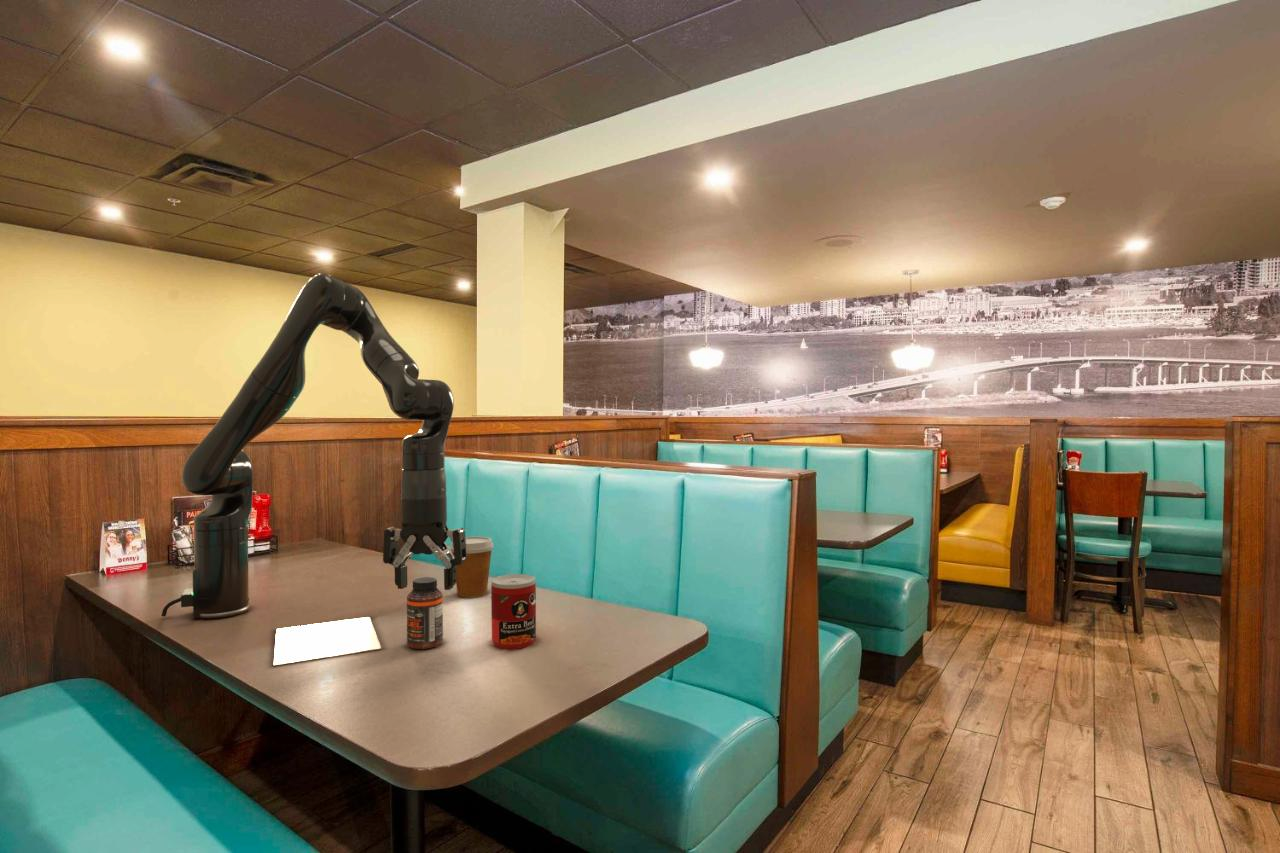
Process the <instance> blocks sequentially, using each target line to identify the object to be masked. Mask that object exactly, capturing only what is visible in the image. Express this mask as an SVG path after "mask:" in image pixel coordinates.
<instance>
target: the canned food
mask: <svg viewBox="0 0 1280 853" xmlns="http://www.w3.org/2000/svg"><path fill="white" fill-rule="evenodd" d="M536 587H537V582H536V577H535V576H533V575H530V574H526V573H525V574H524V573H511V574H502V575H499V576H495V577H494V578H492V579H491V584H490V598H491V599H490V600H491V601H490V602H491V608H490V609H491V610H490V611H491V615H490V616H491V641H492V644H493V645H494V646H495V647H496V648H499V649H502V650H503V649H505V650H516V649H522V648H526V647H529V646H532V644H533V643H535V641H536V637H537V588H536Z"/></svg>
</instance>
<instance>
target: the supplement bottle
mask: <svg viewBox="0 0 1280 853" xmlns="http://www.w3.org/2000/svg"><path fill="white" fill-rule="evenodd" d="M443 599H444V598H443V592H442V591H441V590H440V589H439V588H438V579H437V578H436V577H434V576H433V577H432V576H423V577H422V576H421V577H417V578H414V579H413V580H412V589H411V591H410V592H409V593H408V594H407V596H406V644H407V646H408V647H409V648H410V649H411V648H412V649H414V650H427V649H431V648H435V647H437V646H440V645H441V644H442V643H443V639H444V638H443V637H444V600H443Z"/></svg>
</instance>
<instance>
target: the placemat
mask: <svg viewBox="0 0 1280 853" xmlns="http://www.w3.org/2000/svg"><path fill="white" fill-rule="evenodd" d="M274 643H275V644H274V655H273V656H274V657H273V667H277V666H284V665H289V664H290V665H291V664H296V663H303V662H308V661H309V662H310V661H317V660H321V659H322V660H323V659H330V658H335V657H341V656H349V655H354V654H362V653H366V652H374V651H379V650H382V646H381V644H380V641H379V638H378V636H377V634H376V631H375V628H374V625H373V622H372V620H371V617H370V616H366V617H359V618H357V617H356V618H351V619H343V620H335V621H328V622H322V623H320V622H319V623H313V624H307V625H306V624H305V625H301V626H300V625H297V626H291V627H290V626H289V627H283V628H277V629H276V633H275V642H274Z"/></svg>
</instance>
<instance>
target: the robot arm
mask: <svg viewBox="0 0 1280 853" xmlns="http://www.w3.org/2000/svg"><path fill="white" fill-rule="evenodd" d="M320 325H322V326H324V327H327V328H329V329H332V330H336V331H341V332H343V333H345V334H347V335H348V336H350V337H351V338H352V339H353V340H355V341H356V342H357V343H358V344H359V346H360V347H359V348H360V349H359V350H360V352H359V353H360V357H361V359H362V363H363V364H364V365H365V367H366V369H367V370H368V372H370V374H371V375H372V376H373V377H374V378H375V379H376V380H377V381H378V383H380V385H381V387H382V390H383V392H384V395H385V398H386V400H387V403H388V406H389V408H390V410H391V411H392V413H393V414H394V415H395V416H397V417H399V418H400V419H402V420H405V421H422V423H421V426H420V429H419V430H418V432H416V433H413V434H410V435H409V434H408V435H407V436H405V437H404V438H403V439H402V442H401V476H400V477H401V479H400V490H399V491H400V517H401V518H400V520H401V524H402V525H401V528H398V527H396V526H391V527H389V528H387V529H385V530H384V531H383V549H382V562H383V563H384V564H388V565H392V566H393V568H394V585H395V586H396V587H397V589H398V590H404V589H406V588H407V587H408V565H407V564H406V563H407V562H408V560H409V559H410V557H411V556H412V555H420V554H423V555H427V556H429V555H434V556H435V558H436V559H438V560H439V561H440V562H441V563H442V565H443V566H444V568H443V589H444V591H450V590H452V589H453V588H454V586H456V567H457V565H460V564H462V563H464V562H465V561H466V560H467V552H466V538H465V537H466V529H465V528H464V527H459V528H457V529H449V528H448V525H447V524H448V523H447V521H448V504H447V503H448V499H447V498H448V497H447V496H448V495H447V493H448V492H447V490H448V489H447V488H448V487H447V476H446V468H445V467H446V465H445V461H446V459H445V456H446V455H445V444H446V440H447V436H448V433H449V428H450V424H451V420H452V417H453V413H454V407H455V401H454V400H455V398H454V395H453V392H452V389H451V388H450V386H449V385H448V384H447V383H446V382H445V381H442V380H439V379H423V378H422V379H421V378H419V376H420V369H419V366H418V364H417V363H416V361H415V360H414V359H413V357H411V355H410V354H409V353H408V352H407V351H406V350H405V349H404V348H403V347H402V346H401V345H400V344H399V342H397V341H396V340H395V338H394V337H393V336H392V335H391V334H390V332H389V331H388V330H387V328H386V327H385V325H384V323H383V322H382V321H381V319H380V317H379V316H378V314H377V313H376V311H375V309H374V307H373V306H372V304H371V302H370V300H369V299H368V298H367V296H366V295H365V294H364V292H362V290H360V289H359V288H358V287H356V286H355V285H352V284H350V283H348V282H345V281H344V280H341V279H339V278H336V277H334V276H332V275H329V274H326V273H318V274H315V275H314V276H312V277H310V279H309V280H308V281H307V282H306V283H305V284H304V286H303V287H302V289H301V290H300V292H299V294H298V295H297V297H296V299H295V301H294V302H293V304H292V306H291V308H290V310H289V312H288V314H287V316H286V317H285V320H284V322H283V323H282V325H281V327H280V329H279V331H278V332H277V334H276V335H275V337H274V339H273V340H272V342H271V343H270V345H269V347H268V348H267V350H266V351H265V353H264V354H263V356H262V357H261V358H260V360H259V361H258V363H257V364H256V365H255V367H254V368H253V369H252V371H251V372H250V374H248V376H247V378H246V380H245V381H244V383H243V384H242V386H241V388H240V389H239V391H238V392H237V394H236V395H235V397H234V398H233V400H232V401H231V402H230V404H229V405H228V407H227V408H226V409H225V411H224V412H223V414H222V415H221V417H220V418H219V419H218V421H217V422H216V423H215V425H214V426H213V427H212V429H210V431H209V432H208V433H207V434H206V435H205V437H204V438H202V440H201V441H200V442H199V443H198V444H197V446H195V447H194V449H193V450H192V452H190V454H189V455H188V456H187V459H186V460H185V462H184V464H183V467H182V471H181V481H182V484H183V486H184V489H185V490H187V491H188V492H189V493H190V494H193V495H195V496H207V497H208V496H211V500H210V501H209V503H208V505H207V506H206V507H205V508H203V509H202V510H201V511H200V512H198V513H197V514H196V515H195V516H194V518H193V558H194V559H193V560H194V562H193V563H194V565H193V566H194V567H193V570H192V588H184V590H183V592H182V593H181V595H180V597H178V598H175V599H173V600H171V601H169V602H167V603H166V604H165V605H164V607H163V609H162V612H161V617H166V616H167V613H168V610H169V609H170V607H171V606H173V605H175V604H178V603H180V608H188V607H193V608H192V609H193V610H192V619H194V620H197V619H205V620H206V619H208V620H209V619H219V618H220V619H222V618H228V617H234V616H237V615H240V614H243V613H245V612H247V611H249V610H250V597H249V596H250V592H249V589H250V588H249V583H250V582H249V525H248V524H249V523H248V522H249V517H250V514H251V512H252V508H253V494H254V492H253V491H254V468H253V463H252V460H251V457H250V456H249V454H247V452H246V451H244V450H243V449H244V448H245V447H246V446H247V445H248V444H249V443H251V441H253V440H254V439H255V438H257V437H258V436H260V435H261V434H263V433H264V432H265V431H267V430H268V429H270V428H271V427H272V426H273V425H275V424H277V422H279V421H280V420H281V419H282V418H284V417H285V415H286V414H287V413H288V412H289V411H290V409H291V408H292V407H293V405H294V404H295V402H296V401H297V400H298V398H299V396H300V395H301V394H302V392H303V390H304V388H305V385H306V374H307V373H306V349H307V346H308V343H309V341H310V339H311V338H312V336H313V334H314V332H315V331H316V330H317V329H318V327H319V326H320ZM400 538H401V539H402V541H403V543H404V545H403V546H402V548H401V549H400V550H399V552H398V541H399V540H400ZM448 538H449V539H450V542H451V543H452V542H453V547H454V556H453V554H452V551H451V549H450V546H449V545H448V544H447V543H446V541H447V539H448ZM397 552H398V553H397ZM397 554H398V555H397Z"/></svg>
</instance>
